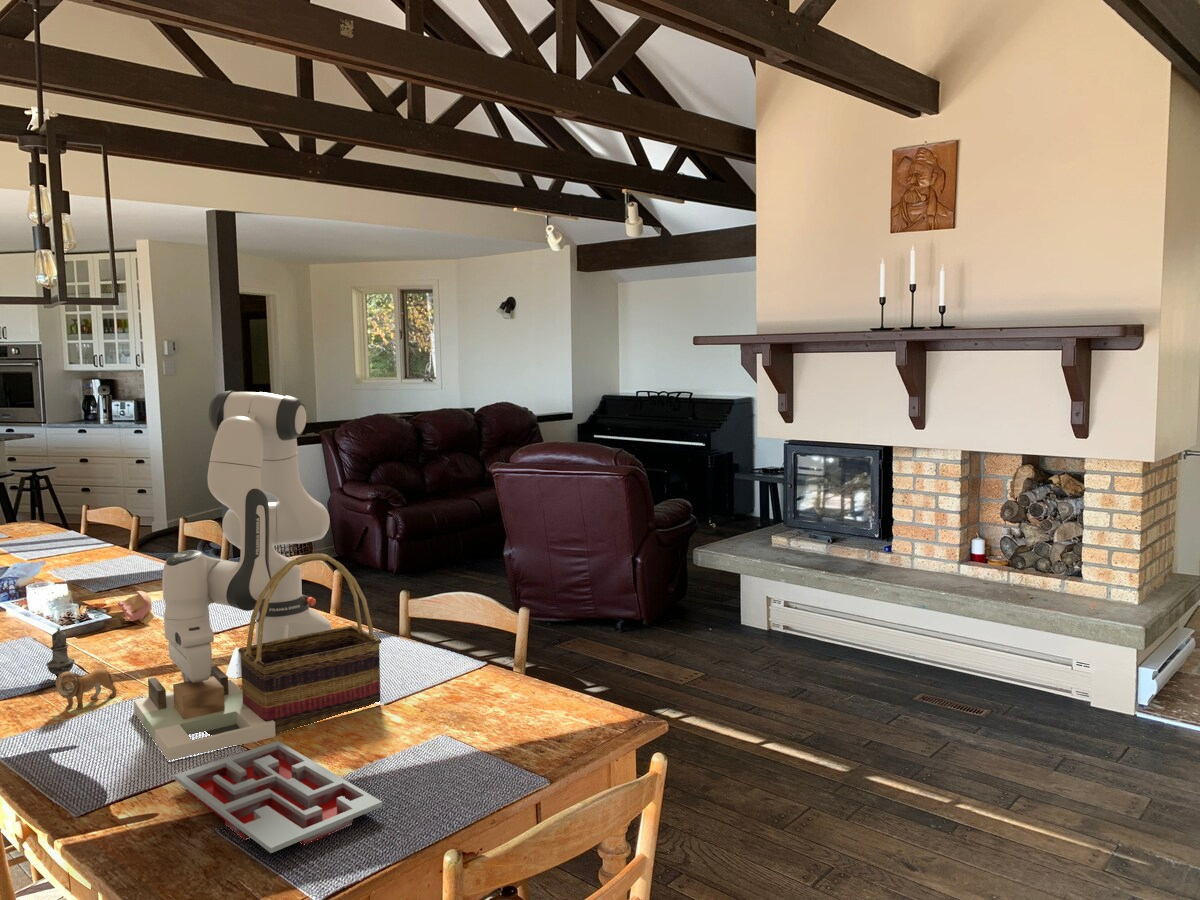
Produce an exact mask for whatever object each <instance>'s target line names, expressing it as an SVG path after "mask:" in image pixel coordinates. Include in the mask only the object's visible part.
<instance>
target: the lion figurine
mask: <svg viewBox="0 0 1200 900" xmlns="http://www.w3.org/2000/svg"><path fill="white" fill-rule="evenodd" d="M101 686H102V687H103V688H105V689H107V690H111V693H110V694H109V697H110V698H114V697H116V696H117V689H116V686H115V685H114V681H113V677H112V675H111V673H110V672H109V671H108V670H106V669H103V668H100V669H95V670H93V671H91V672H89V673H87V674H85V675H80V674H78V673H75V672H72V671H68V672H63V673H61V674H60V675H59V676H58V678H56V681H55V687H56V690H57V693H58V694H59V695H60V696H61V697H62V698H65V699H66V700H67V702H68V705H66V706H65V709H66V710H71V709H72V708H73V706H74V699H73V698H74V697H76V700H77V703H76V704H77V707H76V708H75V709H76V710H77V711H79V710H83V708H84V705H83V697H84V693H87V692H90V691H91V690H92V689H95V694H94V695H91V696H90V699H91V700H93V699H97V698H98V697H99V695H100V693H101V692H102V688H101Z"/></svg>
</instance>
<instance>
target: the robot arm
mask: <svg viewBox="0 0 1200 900" xmlns="http://www.w3.org/2000/svg"><path fill="white" fill-rule="evenodd" d="M208 421H209V424H210V426H211V428H212V429H213V431H214V432H215V433H216V434H215V437H214V440H213V443H212V449H211V453H210V457H209V463H208V469H207V488H208V489H209V492H210V493H211V494H212V496H213V497H214V498H215V500H217V501H218V502H219V503H221V504H222V505H223V506H225V507H227V508H228V510H227V511H226V512H225V514H224V516H223V519H222V523H221V525H222V533H223V535H224V537H225V538H226V540H227V541H228V542H229V543H230V544H231V545H233V546H235V547H237V548H238V549H239V550H240V557H239V561H232V560H227V559H221V558H216V557H211V556H208V555H206V554H204V553H203V552H202V551H200V550H199V549H198V550H197V549H187V550H185V551H184V550H183V551H179V552H176V553H173V554H171V555H170V556H169V557H167V558H166V560H165V562H164V564H163V571H162V584H161V585H162V598H163V600H164V604H165V607H164V608H165V609H164V612H163V623H164V625H163V626H164V630H163V631H164V638H165V639H166V640H167V641H168V656H169V658H170V660H171V661H172V662H173V663H174V664H175V666H176V667H177V668H178V669H179V670H180V672H181V677H182V680H183V681H182V682H187V681H192V682H200V681H205V680H208V679H209V678H210V675H211V666H212V657H213V656H212V655H213V654H212V645H211V644H212V643H214V641H215V634H214V632H213V630H212V627H211V621H210V609H209V606H210V605H211V604H217V605H222V606H228V607H232V608H235V609H238V610H241V611H244V612H250V611H253V610H254V608H255V605H256V603H257V600H258V597H259V595H260V594H261V592H262V591H263V589H264V588H265V586H266V585H267V584H268V582H269V581H270V579H271V578H272V577H273V576H274V575H275V574H276V573H277V572H278V571H279V570H281V569H282V568H283V567H284V566H285V565H286V564H287V563H288V562H290V561H292V560H293V558H290V557H287V556H285V555H283V554H280V553H279V552H277V550H276V549H275V546H279V545H292V544H306V543H310V542H315V541H318V540H322V539H324V537H325V536H326V534H327V532H328V531H329V528H330V524H331V523H330V522H331V521H330V514H329V511H328V509H327V508H326V507H325V505H324V504H323V503H321V502H319V500H318V501H317V500H316V499H315V498H314V497H312V496H311V495H310V494H309V493H308V492H307V490H306V489H305V488H304V486H303V483H302V481H301V476H300V470H299V460H298V459H299V456H298V455H299V452H298V439H297V438H298V437H300V436H302V434H303V432H304V430H305V428H306V423H307V408H306V405H305V404H304V403H303V401H302V400H301V399H299V398H297V397H294V396H291V395H288V394H287V395H285V396H284V395H281V394H276V393H273V392H272V393H271V392H265V391H264V392H263V391H259V392H256V391H235V390H226V391H225V390H224V391H220V392H218V393H217V394H216V395H215V396H214V397H213V398H212V400H211V401H210V404H209V407H208ZM266 494H268V495H270V496H272V497H274V498H275V499H276V500H277V501H269V500H268V497H267V495H266ZM272 585H273V584H272ZM302 586H303V585H302V569H301V567H300V565H294V566H293V567H292V568H291V569H290V571H289V572H288V573H287V574H286V575H285V576H284V577H283V578H282V579H281V580H280V581H279V583H278V585H277V587H276V589H275V591H274V593H273V595H272V597H271V599H270V601H269V604H268V608H267V612H266V615H265V619H264V624H263V637H262V643H266V642H271V641H276V640H281V639H286V638H291V637H295V636H300V635H305V634H310V633H315V632H320V631H325V630H330V629H333V626H332V623H331V621H330V620H329V619H328V618H327V617H325V616H323V615H322V614H321V613H319V612H317V610H314V609H312V608H311V607H312V606H315V604H316V602H317V601H316V599H315V598H314V597H312V596H308V595H305V594H303V593H302V592H303V591H302V590H303V589H302ZM271 587H272V586H271ZM271 587H270V589H271ZM270 589H269V590H270ZM269 590H268V592H269ZM268 592H267V593H266V595H265V596H264V598H263V600H262V603H261V605H260V608H259V611H258V613H257V616H256V619H255V624H256V625H255V633H254V635H255V636H254V639H253V645H257V638H258V625H259V619H260V616H261V612H262V608H263V604H264V601H265V598H266V596H267V594H268ZM310 606H311V607H310Z"/></svg>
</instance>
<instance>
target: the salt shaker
mask: <svg viewBox="0 0 1200 900" xmlns="http://www.w3.org/2000/svg"><path fill="white" fill-rule="evenodd" d="M56 630H57V631H55V632H54V633H52V634H51V640H52V641H51V645H52V646H51V647H50V650H52V651H51V652H52V657H51V660H50V661H48V662H46V664H45V666H46V668H47V670H48V671H49V673H51V675H53V674H55V675H56V676H57V678H58V676H59V675H60V674H61V673H63V672H68V671H69V672H71V670H72V669H73V667H74V663H75V661H76V659H74V658H70V657H69V655H68V648H69V644H67V634H66V632H65V631H63V630H61V628H59V627H57V629H56Z"/></svg>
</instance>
